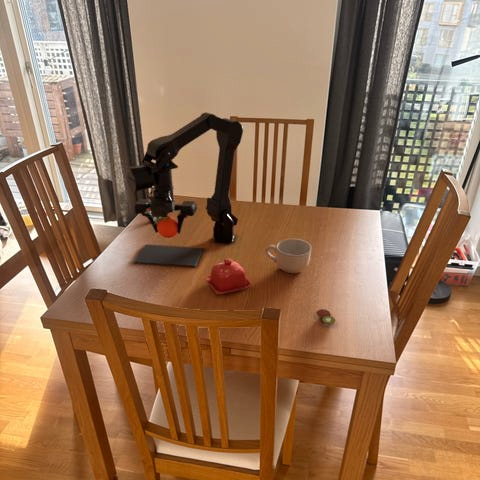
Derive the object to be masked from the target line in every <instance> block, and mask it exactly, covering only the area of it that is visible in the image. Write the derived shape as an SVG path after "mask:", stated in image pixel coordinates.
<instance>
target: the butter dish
mask: <svg viewBox="0 0 480 480" xmlns="http://www.w3.org/2000/svg"><path fill="white" fill-rule="evenodd" d="M204 280H205V281H206V282H207V284H208V285H209V286H210V287H211V289H212V290H213V291H214V293H215V294H217V295H223V294H227V293H232V292H236V291H240V290H246V289H248V288H252V287H253V284H252V283H251V281H250V280H249V278H247V276H246V271H245V270H244V268H243V267H242V265H240V264H239V263H237V262H236V261H233V259H231V258H225V259H224V260H223V262H220V263H217V264H215V265H213V266H212V268H211V272H210V275H207V276H205V278H204Z"/></svg>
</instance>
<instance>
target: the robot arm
mask: <svg viewBox="0 0 480 480" xmlns="http://www.w3.org/2000/svg"><path fill="white" fill-rule="evenodd" d="M210 130H213V131H215V132H216V135H215V136H216V137H215V138H216V142H217V145H218V158H217V166H216V167H217V168H216V175H215V183H214V191H213V192H214V193H213V194H212V195H211V197H207V199H206V206H205V210H206V214H207V215H208V217H210V219H211V221H212V222H214V225H213V228H212V233H213V234H212V235H213V239H214V240H213V242H214V243H224V244H233V242H234V240H235V233H234V232H235V229H234V228H235V226H237V225H238V222H239V218H237V216H235V215H234V214H233V212H232V211H233V210H232V207H233V206H232V202H231V199H230V190H231V189H230V188H231V182H232V173H233V167H234V159H235V153H236V150H237V148H238V147H239V145H240V144H241V142H242V138H243V134H244V127H243V126H242V124H241V122H240V121H238V120H234V119H230V118H227V117H224V118H221V117H220V116H219V117H218V116H217V115H216V114H214V113H210V112H207V111H205V112H202V113H201V114H200V115H199V116H198V117H196V118H195V119H193V120H191V121H190V122H189V123H187V124H185V125H183V126H182V127H181V128H179V129H178V130H176V131H175V132H173V133H171V134H168V135H164V136H159V137H157V138H154V139H152V140H150V141H149V142H148V143H147V146H146V147H147V148H146V152H145V153H144V156H143V158H142V159H141V162H140V165H137V166H129V167H128V172H127V175H126V182H127V183H126V184H127V186H128V188H129V190H130V191H131V192H133V193H135V192H136V193H137V192H140V191H145V190H148V189H151V188H152V187H154V191H153V200H152V202H151V200H150V199H149V198H147V199H146V198H139V199H138V200H137V201H136V202H135V203H134V204H133V213H134V214H135V215H136V214H137V215H141V216H142V217H145V218H146V219H148V221H149V222H150V224H151V227H152V228H153V230H154V232H155V233H156V234H158V233H159V232H158V230H157V222H156V220H157V217H160V218H161V217H167V216H169V214H170V213H174V211H175V212H178V214H177V216H176V218H177V222H178V233H177V234H178V235H180V234H181V231H182V228H183V223H184V220H185V219H187V218H188V217H193V216H195V214H196V213H197V210H198V207H197V203H196V202H195V201H194V200H183V201H182V202H181V203H179V204H178V203H177V204H176V198H175V194H174V189H175V187H174V185H173V184H174V182H173V172H172V171H173V170H174V169H178V168H179V166H178V165H177V164H176V163H175V162H174V161H173V160H174V159H175V158H176V157H177V156H178V154H179V152H180V150H182V149H183V148H184V147H186V146H188V144H190V143H192V142H193V141H195V140H196V139H198V138H199V137H201V136H202V135H204V134H206V133H207V132H209V131H210ZM154 161H155V162H154ZM155 222H156V223H155ZM154 223H155V225H154Z"/></svg>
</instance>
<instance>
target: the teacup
mask: <svg viewBox="0 0 480 480" xmlns="http://www.w3.org/2000/svg"><path fill="white" fill-rule="evenodd" d="M271 249H272V250H274V253H275V256H274V255H272V254H271V253H270V250H271ZM311 253H312V245H311V243H309V242H308V241H305V240H304V239H300V238H285V239H282V240H280V241H278V243H276V245H274V244H268V245H267V246H266V248H265V255H266V256H267V257H268V258H269V259H271V260H272V261H273V262H274V263H275V264H276V265H277V266H278V267H279V269H281V270H282V271H283V272H284V273H289V274H298V273H301V272H302V271H304V270H306V269H307V268H308V266H309V264H310V261H311Z"/></svg>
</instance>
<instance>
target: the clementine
mask: <svg viewBox="0 0 480 480" xmlns="http://www.w3.org/2000/svg"><path fill="white" fill-rule="evenodd" d="M158 220H159V221H158ZM158 220H156V222H157V221H158V223H157V230H158V232H157V233H158V234H159V235H160V236H161V237H163V238H165V239H171V238H173V237H175V236H177V234H178V219H176V218H175V217H174V216H171V215H168V216H167V217H160V218H159V219H158ZM156 222H155V223H156ZM155 223H154V225H155Z"/></svg>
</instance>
